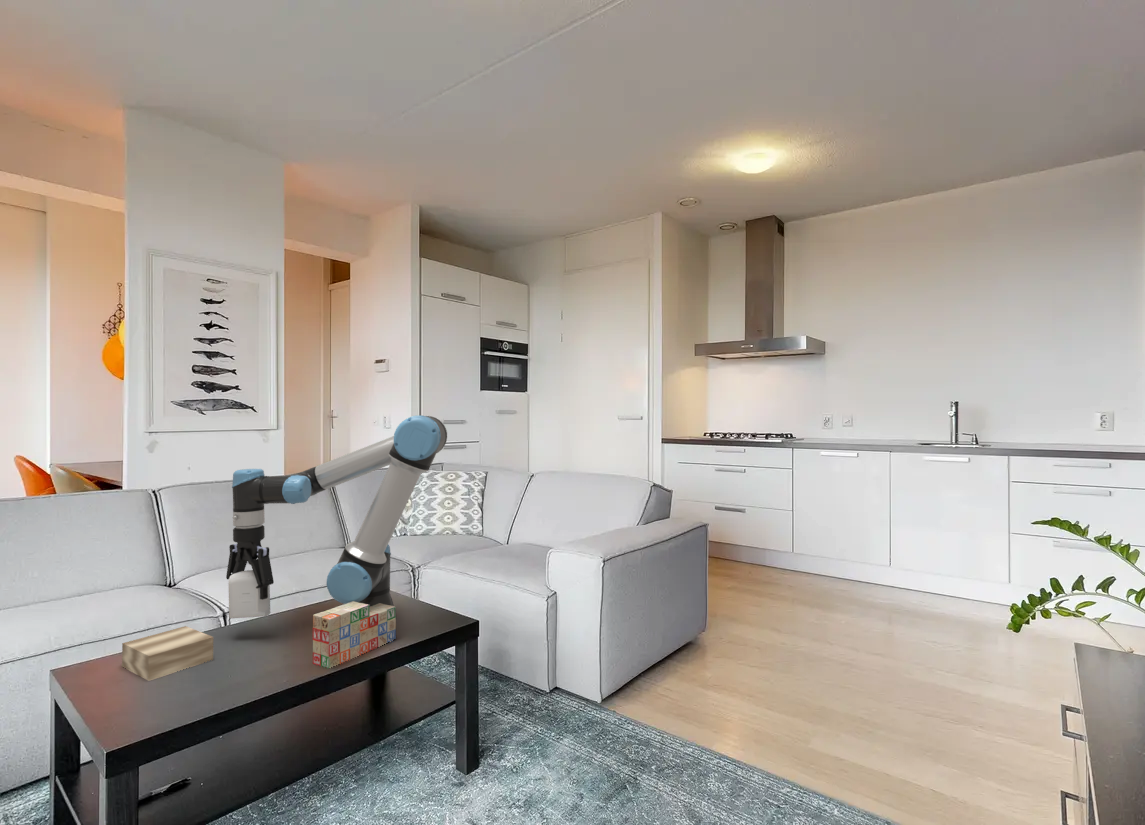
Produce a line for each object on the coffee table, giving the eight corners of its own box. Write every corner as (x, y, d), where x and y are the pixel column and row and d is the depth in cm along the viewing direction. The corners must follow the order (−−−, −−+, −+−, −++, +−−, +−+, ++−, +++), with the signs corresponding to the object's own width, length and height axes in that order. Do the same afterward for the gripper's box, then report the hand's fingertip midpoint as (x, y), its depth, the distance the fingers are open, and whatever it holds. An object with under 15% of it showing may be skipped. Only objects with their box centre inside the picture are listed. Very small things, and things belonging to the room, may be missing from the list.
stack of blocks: (379, 636, 163) (380, 591, 163) (396, 640, 159) (396, 595, 160) (311, 664, 144) (312, 614, 144) (328, 669, 141) (329, 618, 141)
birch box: (213, 661, 146) (213, 637, 146) (148, 682, 134) (149, 656, 134) (185, 649, 153) (185, 626, 153) (122, 668, 142) (122, 643, 142)
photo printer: (226, 620, 157) (225, 573, 157) (233, 614, 161) (232, 569, 161) (266, 617, 158) (266, 571, 158) (272, 612, 162) (272, 567, 163)
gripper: (210, 525, 162) (211, 606, 162) (261, 531, 151) (262, 618, 151) (237, 520, 168) (237, 599, 168) (288, 526, 158) (289, 609, 158)
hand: (249, 608), depth 160 cm, fingers closed on photo printer, 9 cm apart
